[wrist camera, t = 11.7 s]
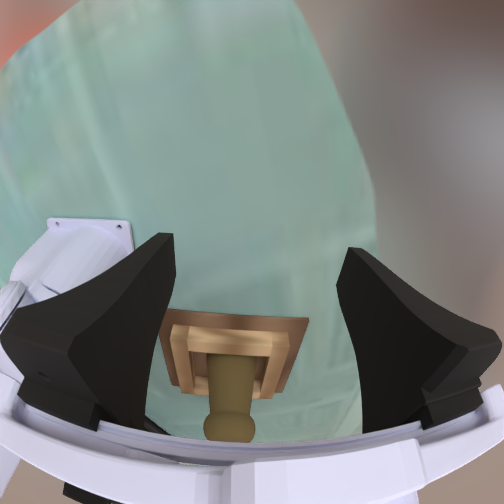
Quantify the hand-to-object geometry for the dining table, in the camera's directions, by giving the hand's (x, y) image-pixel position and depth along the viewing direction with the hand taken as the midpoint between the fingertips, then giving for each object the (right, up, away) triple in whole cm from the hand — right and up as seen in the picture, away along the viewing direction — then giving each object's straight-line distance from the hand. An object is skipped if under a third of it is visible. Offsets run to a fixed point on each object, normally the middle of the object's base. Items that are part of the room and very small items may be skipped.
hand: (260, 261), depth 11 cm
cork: (-3, -12, +20) cm, 24 cm away
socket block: (-3, -13, +21) cm, 24 cm away
